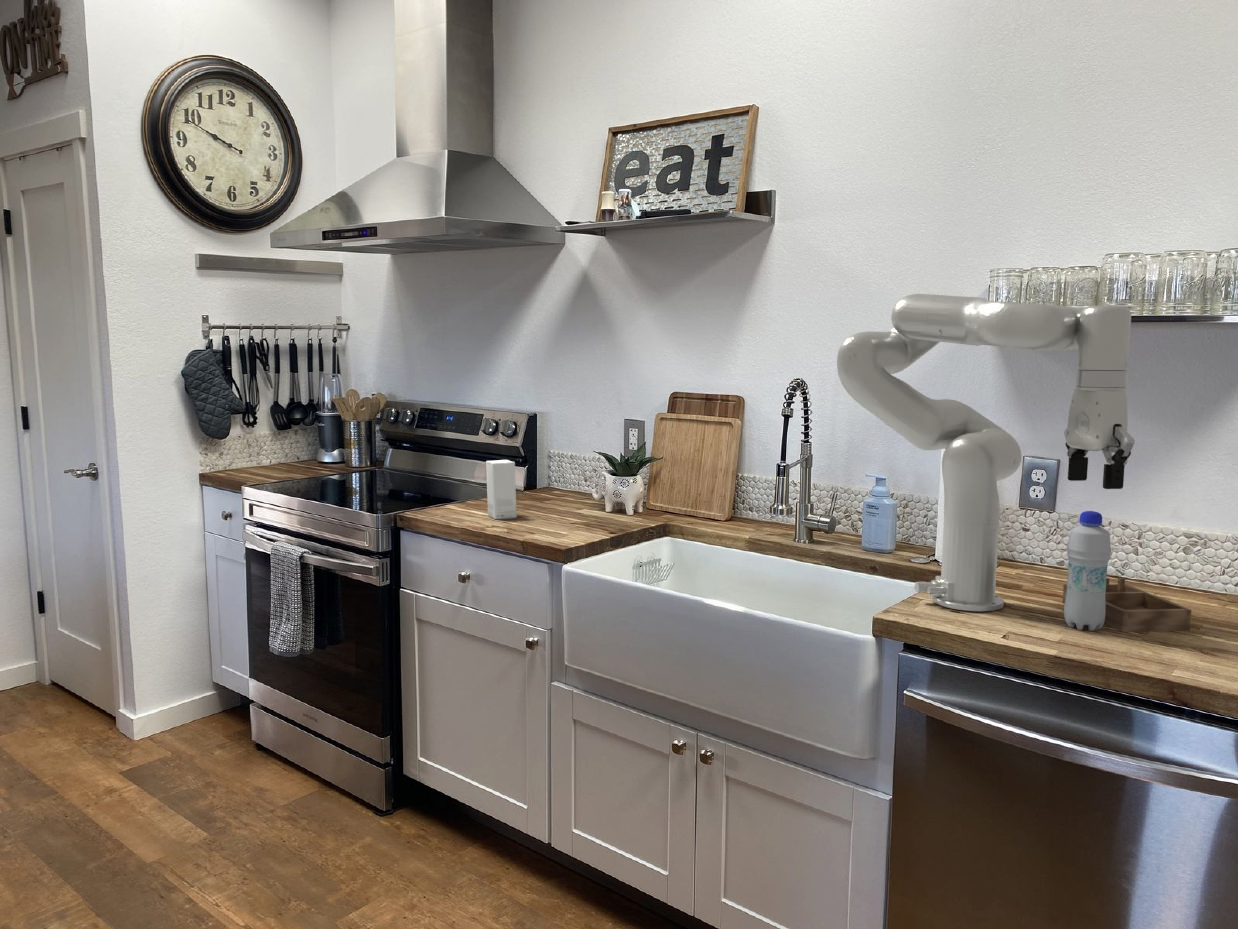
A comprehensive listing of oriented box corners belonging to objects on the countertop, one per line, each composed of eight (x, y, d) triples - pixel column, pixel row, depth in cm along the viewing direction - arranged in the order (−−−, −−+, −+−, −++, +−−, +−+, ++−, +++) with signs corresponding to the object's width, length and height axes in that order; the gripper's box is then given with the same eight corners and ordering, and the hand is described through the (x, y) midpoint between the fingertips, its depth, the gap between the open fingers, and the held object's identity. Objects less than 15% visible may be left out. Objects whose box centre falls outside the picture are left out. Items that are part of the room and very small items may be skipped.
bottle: (1067, 619, 164) (1075, 506, 162) (1109, 626, 160) (1118, 510, 158) (1056, 627, 159) (1064, 511, 157) (1100, 635, 155) (1108, 516, 152)
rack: (1122, 631, 157) (1124, 600, 156) (1062, 602, 175) (1064, 574, 174) (1189, 630, 158) (1192, 599, 157) (1123, 601, 176) (1125, 573, 175)
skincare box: (516, 518, 257) (516, 462, 256) (493, 520, 255) (492, 463, 253) (508, 513, 265) (508, 458, 263) (485, 515, 263) (485, 459, 261)
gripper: (1050, 379, 163) (1044, 477, 165) (1112, 383, 146) (1105, 492, 148) (1090, 379, 164) (1084, 477, 166) (1157, 383, 147) (1149, 491, 149)
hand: (1094, 484), depth 157 cm, fingers open, 9 cm apart
